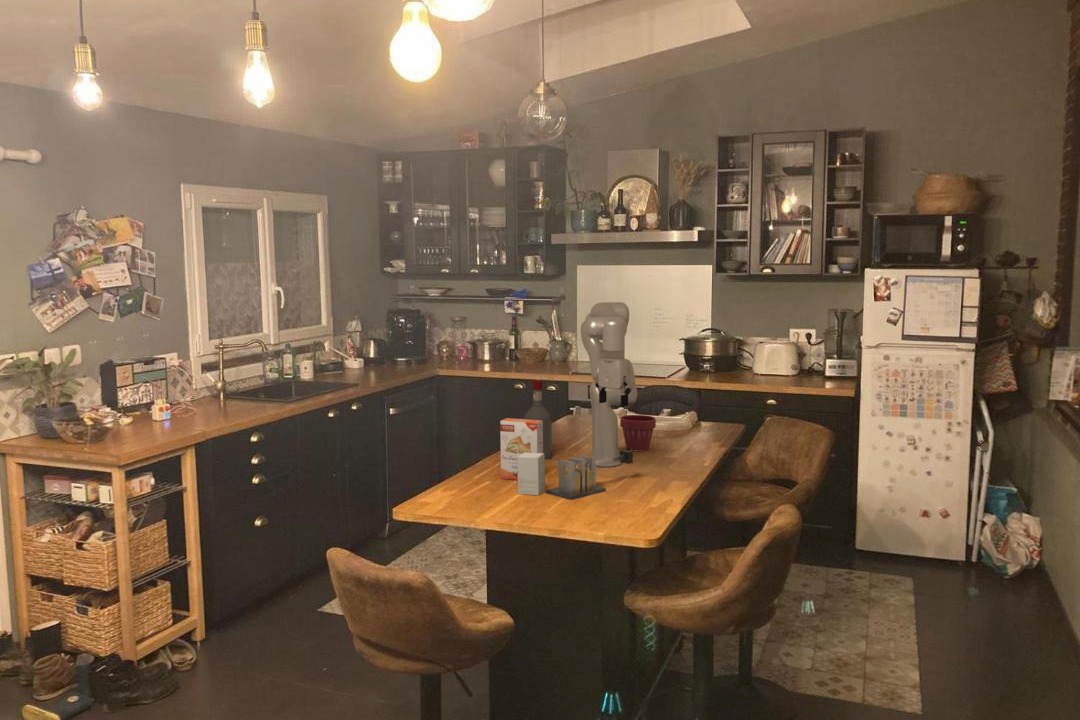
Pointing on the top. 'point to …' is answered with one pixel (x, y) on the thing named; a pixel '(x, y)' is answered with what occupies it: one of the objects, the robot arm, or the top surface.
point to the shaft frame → (568, 480)
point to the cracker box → (518, 443)
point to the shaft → (615, 458)
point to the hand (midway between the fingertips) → (613, 404)
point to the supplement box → (531, 473)
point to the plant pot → (637, 431)
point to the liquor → (541, 418)
